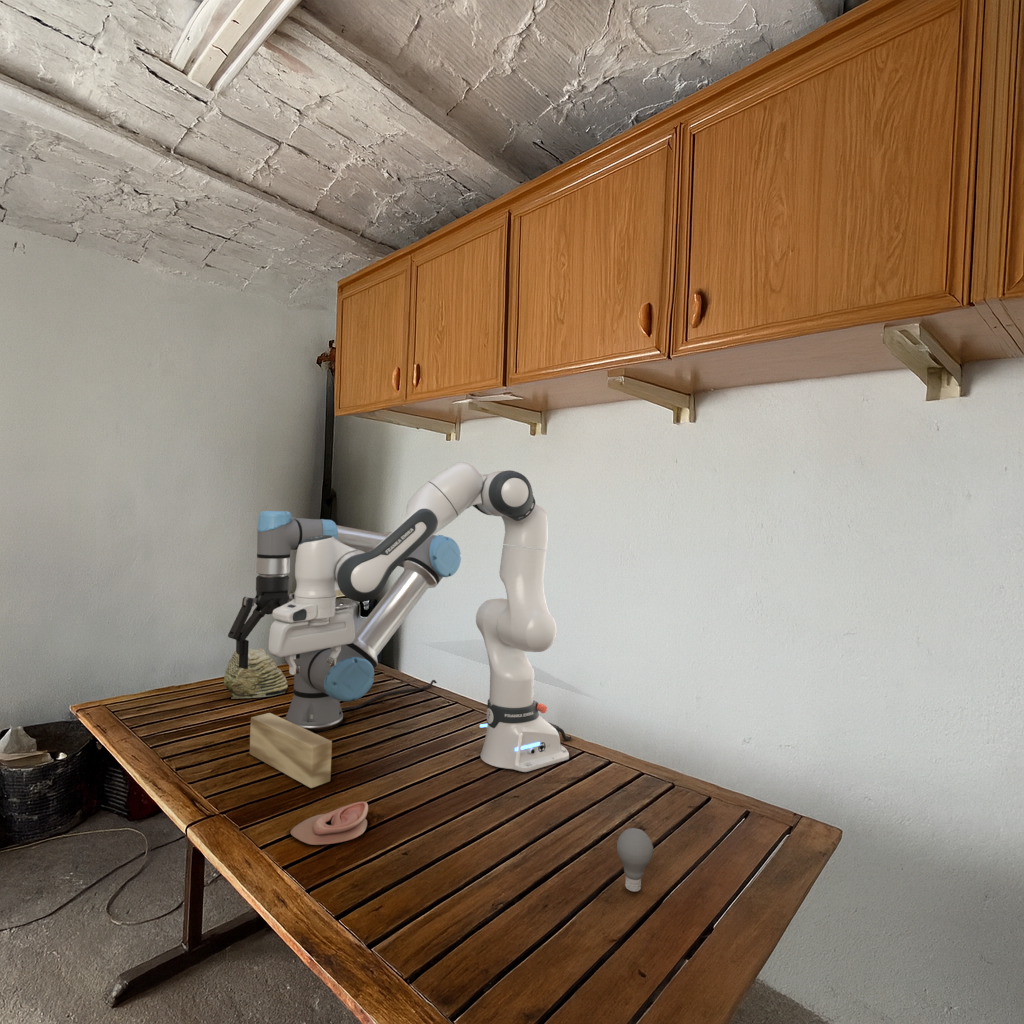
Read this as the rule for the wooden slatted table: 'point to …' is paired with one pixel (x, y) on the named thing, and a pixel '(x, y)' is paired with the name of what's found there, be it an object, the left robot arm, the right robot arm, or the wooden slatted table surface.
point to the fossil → (254, 676)
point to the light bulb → (634, 856)
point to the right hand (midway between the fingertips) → (313, 669)
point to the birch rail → (291, 749)
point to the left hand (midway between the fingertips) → (270, 662)
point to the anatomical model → (333, 825)
